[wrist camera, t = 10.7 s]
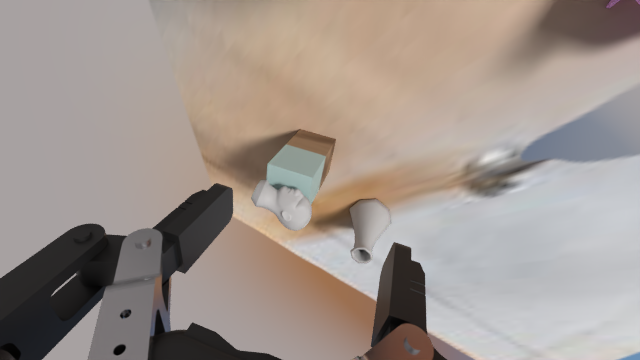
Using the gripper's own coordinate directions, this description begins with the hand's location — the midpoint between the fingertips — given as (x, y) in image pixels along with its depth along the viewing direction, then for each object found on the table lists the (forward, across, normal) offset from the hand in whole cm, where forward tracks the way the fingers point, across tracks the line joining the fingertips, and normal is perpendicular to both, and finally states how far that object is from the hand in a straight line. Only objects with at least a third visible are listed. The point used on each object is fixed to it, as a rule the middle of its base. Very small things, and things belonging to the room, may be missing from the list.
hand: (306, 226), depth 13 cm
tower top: (+24, +7, +13) cm, 28 cm away
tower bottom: (+30, +7, +13) cm, 34 cm away
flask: (+30, -5, +22) cm, 38 cm away
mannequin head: (+18, +7, +13) cm, 24 cm away
